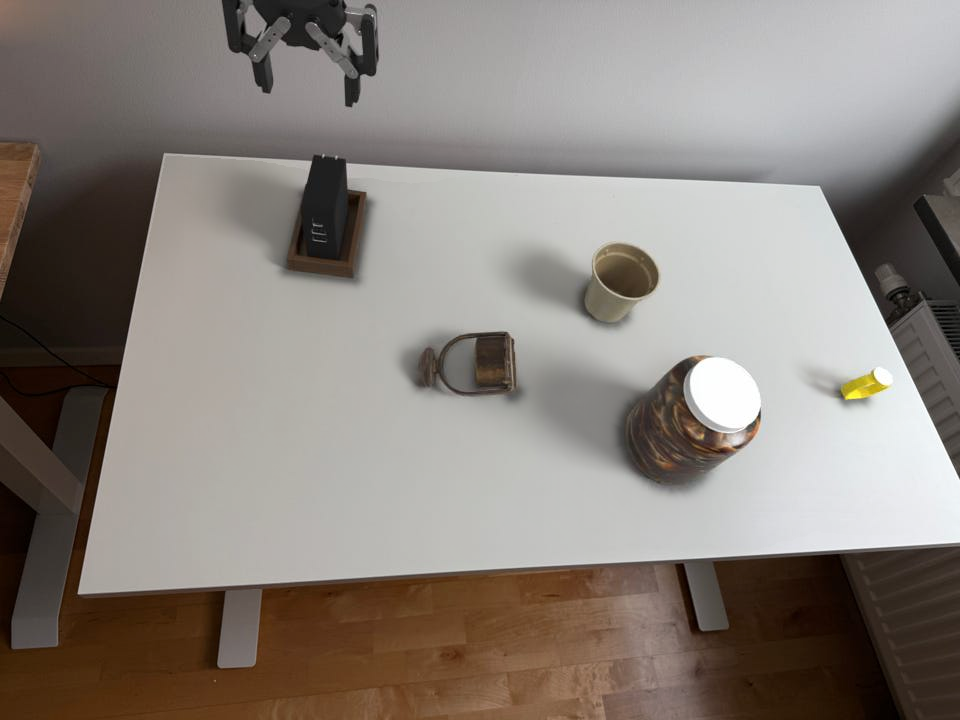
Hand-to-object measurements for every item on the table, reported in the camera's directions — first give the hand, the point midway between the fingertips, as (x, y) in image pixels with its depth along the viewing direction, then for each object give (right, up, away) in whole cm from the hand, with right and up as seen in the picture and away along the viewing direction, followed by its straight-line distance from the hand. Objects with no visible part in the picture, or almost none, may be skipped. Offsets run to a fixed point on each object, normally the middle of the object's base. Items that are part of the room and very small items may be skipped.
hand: (309, 95), depth 64 cm
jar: (+42, -39, +14) cm, 59 cm away
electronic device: (-3, -11, +20) cm, 23 cm away
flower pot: (+36, -20, +23) cm, 47 cm away
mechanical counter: (+17, -30, +14) cm, 37 cm away
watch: (+71, -33, +22) cm, 82 cm away
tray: (-3, -11, +21) cm, 23 cm away
